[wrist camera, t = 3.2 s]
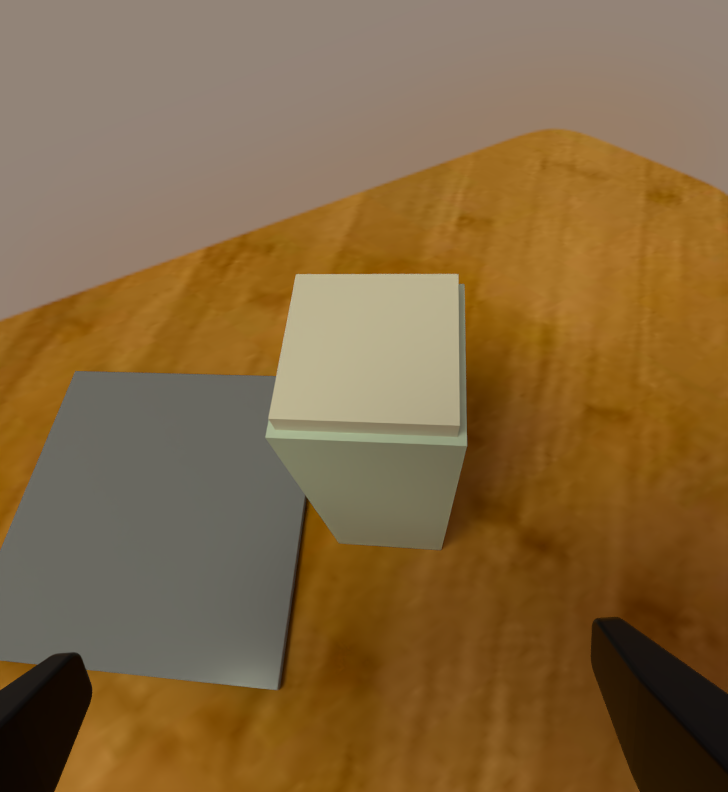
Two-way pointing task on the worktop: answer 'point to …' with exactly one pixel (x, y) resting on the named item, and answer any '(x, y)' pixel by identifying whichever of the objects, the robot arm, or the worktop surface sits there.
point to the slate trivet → (156, 533)
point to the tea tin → (374, 403)
